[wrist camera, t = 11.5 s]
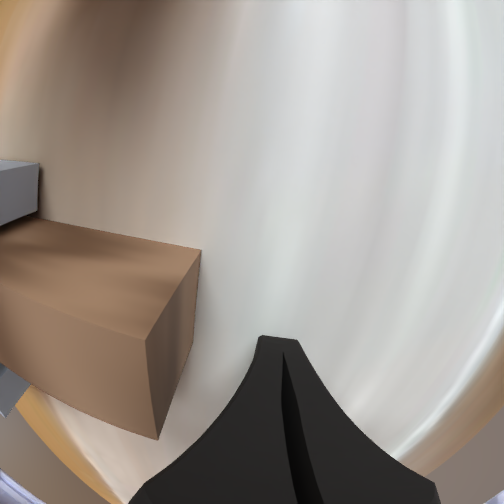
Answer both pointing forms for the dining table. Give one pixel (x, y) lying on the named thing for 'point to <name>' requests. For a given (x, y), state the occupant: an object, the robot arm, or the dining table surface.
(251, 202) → the dining table surface
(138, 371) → the peg
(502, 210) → the dining table surface
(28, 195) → the block
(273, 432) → the robot arm
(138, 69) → the dining table surface
